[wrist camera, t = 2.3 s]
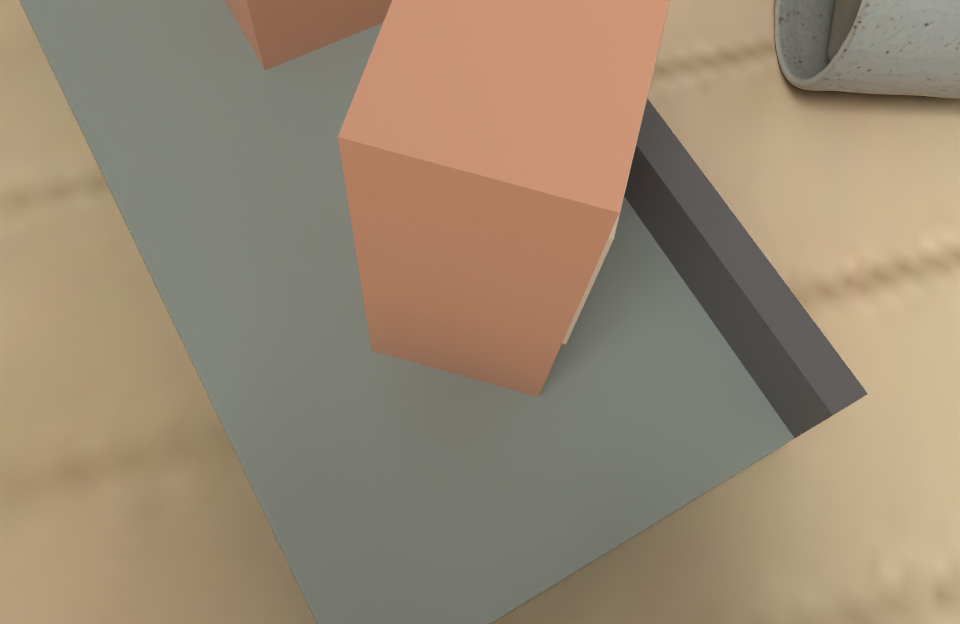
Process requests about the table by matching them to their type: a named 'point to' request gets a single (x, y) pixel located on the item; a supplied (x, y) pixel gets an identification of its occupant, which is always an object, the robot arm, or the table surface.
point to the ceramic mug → (870, 46)
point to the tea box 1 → (302, 24)
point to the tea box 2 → (492, 174)
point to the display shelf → (411, 386)
